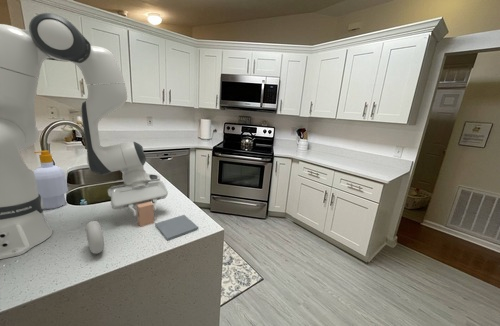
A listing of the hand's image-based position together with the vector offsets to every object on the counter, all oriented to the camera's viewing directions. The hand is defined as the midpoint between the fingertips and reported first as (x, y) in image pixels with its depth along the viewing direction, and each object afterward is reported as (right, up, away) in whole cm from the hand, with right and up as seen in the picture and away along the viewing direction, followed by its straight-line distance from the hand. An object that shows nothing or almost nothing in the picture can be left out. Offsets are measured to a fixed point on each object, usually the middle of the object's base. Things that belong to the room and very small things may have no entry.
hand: (145, 213), depth 81 cm
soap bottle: (-45, +1, +9) cm, 46 cm away
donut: (-7, -8, -16) cm, 19 cm away
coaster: (+12, -6, 0) cm, 13 cm away
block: (0, -4, +1) cm, 4 cm away
